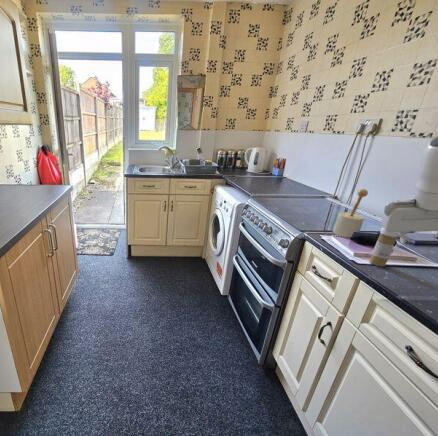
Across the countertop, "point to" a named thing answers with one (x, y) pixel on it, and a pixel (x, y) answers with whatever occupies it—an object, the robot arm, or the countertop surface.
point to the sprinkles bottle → (383, 247)
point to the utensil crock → (350, 219)
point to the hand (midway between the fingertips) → (426, 242)
